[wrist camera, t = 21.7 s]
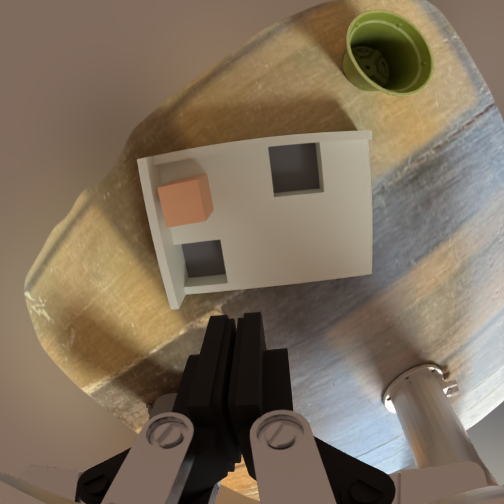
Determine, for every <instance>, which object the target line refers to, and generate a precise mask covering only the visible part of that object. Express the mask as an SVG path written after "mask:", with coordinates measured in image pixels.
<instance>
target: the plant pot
mask: <svg viewBox="0 0 504 504" xmlns="http://www.w3.org/2000/svg"><path fill="white" fill-rule="evenodd" d="M346 48H347V49H346V52H345V54H344V57H343V61H342V66H343V71H344V73H345V75H346V77H347V79H348V80H349V81H350V82H351V83H352V84H354V85H355V86H356V87H358V88H359V89H362V90H365V91H382V92H384V93H386V94H390V95H393V96H411V95H414V94H417V93H419V92H421V91H422V90H423V89H425V88H426V87H427V85H428V84H429V82H430V81H431V78H432V76H433V72H434V58H433V54H432V51H431V48H430V46H429V43H428V41H427V40H426V38H425V37H424V35H423V34H422V32H421V31H420V30H419V29H418V28H417V27H416V26H415V25H414V24H413V23H411V22H410V21H409V20H408V19H406V18H404V17H402V16H400V15H398V14H396V13H393V12H391V11H386V10H370V11H366V12H363V13H361V14H359V15H358V16H357V17H355V18H354V19H353V21H352V22H351V23H350V25H349V27H348V30H347V34H346ZM362 49H365V50H367V52H357V50H362ZM381 62H382V63H383V64H384V66H385V68H386V71H385V72H383V66H382V63H381ZM366 66H369V69H366Z"/></svg>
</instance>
